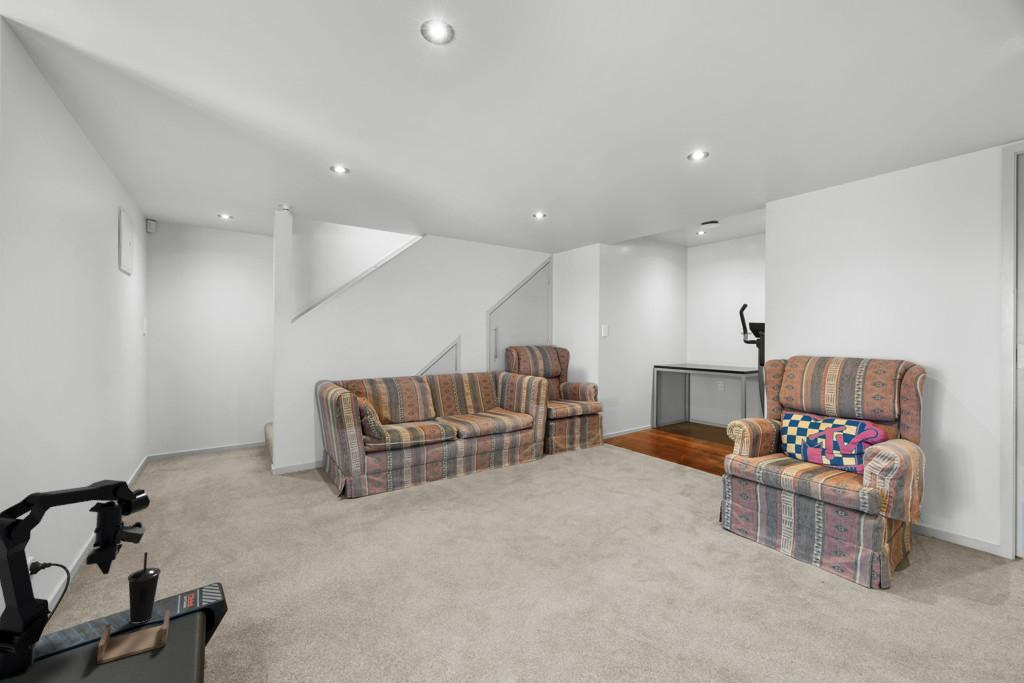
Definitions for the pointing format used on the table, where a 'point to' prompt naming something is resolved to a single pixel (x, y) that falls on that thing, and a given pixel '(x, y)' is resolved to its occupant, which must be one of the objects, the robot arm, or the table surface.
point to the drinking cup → (142, 592)
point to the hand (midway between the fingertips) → (106, 573)
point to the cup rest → (132, 642)
